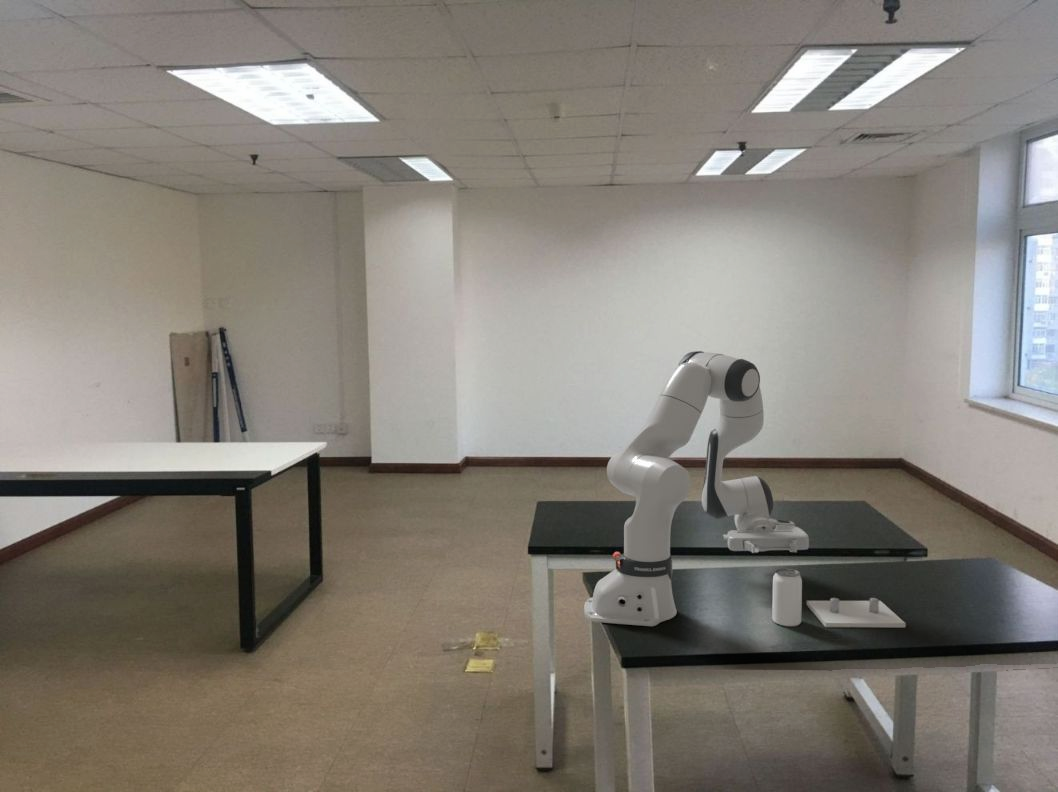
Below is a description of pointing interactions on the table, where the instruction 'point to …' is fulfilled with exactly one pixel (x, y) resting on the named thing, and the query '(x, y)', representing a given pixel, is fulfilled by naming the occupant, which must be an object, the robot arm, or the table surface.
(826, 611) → the pin plate
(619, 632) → the table surface
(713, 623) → the table surface
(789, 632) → the table surface
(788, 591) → the can
